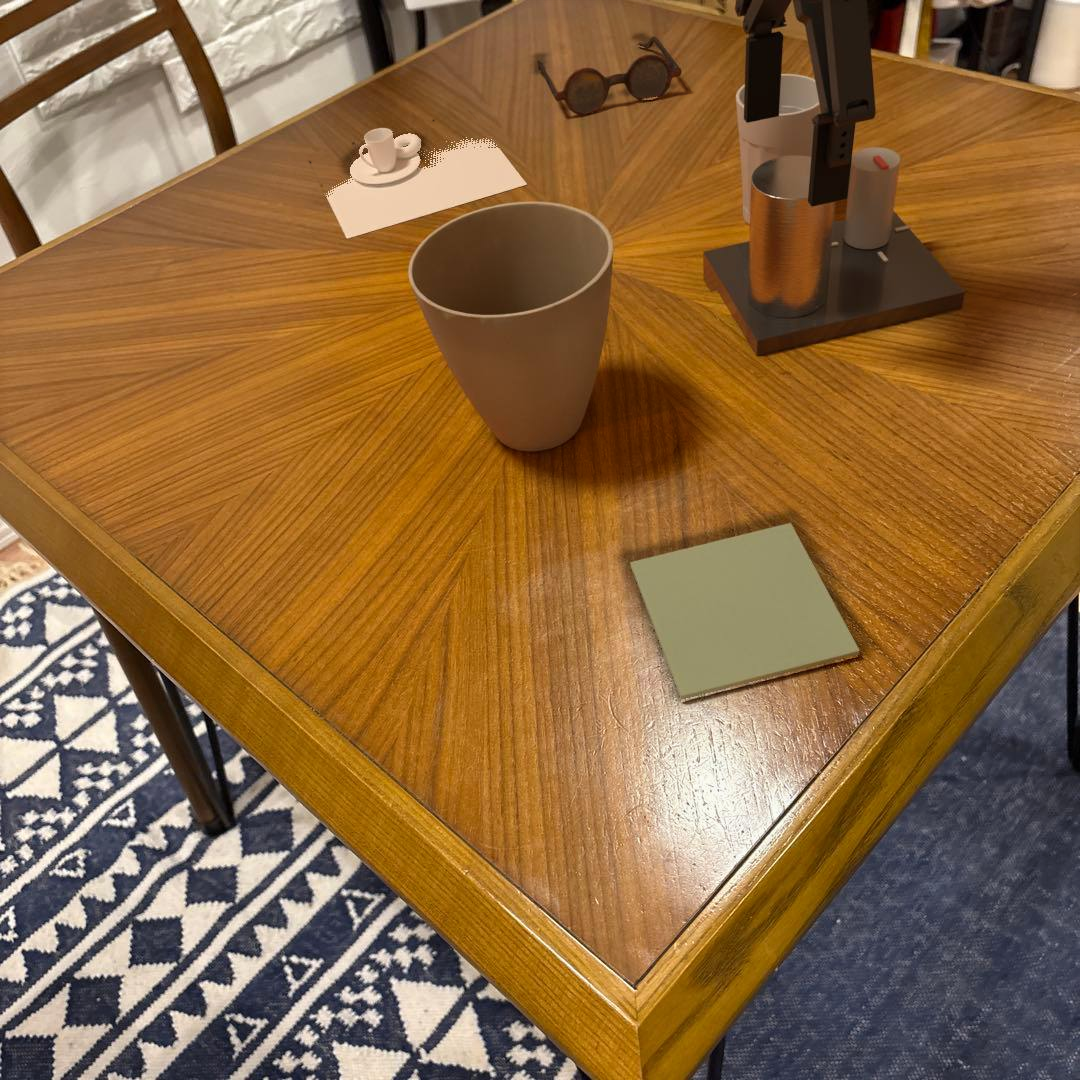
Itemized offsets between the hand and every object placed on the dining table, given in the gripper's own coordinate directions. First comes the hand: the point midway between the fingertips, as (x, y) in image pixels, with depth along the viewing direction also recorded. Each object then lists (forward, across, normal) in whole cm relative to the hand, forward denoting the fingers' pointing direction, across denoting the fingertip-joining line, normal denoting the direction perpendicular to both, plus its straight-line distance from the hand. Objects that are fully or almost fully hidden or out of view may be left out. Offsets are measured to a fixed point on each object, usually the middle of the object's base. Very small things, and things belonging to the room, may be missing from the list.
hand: (792, 157), depth 85 cm
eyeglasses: (+16, -52, -2) cm, 54 cm away
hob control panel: (+16, -2, +5) cm, 16 cm away
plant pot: (+16, +5, -23) cm, 29 cm away
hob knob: (+13, -5, +10) cm, 17 cm away
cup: (+16, -17, +6) cm, 24 cm away
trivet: (+16, +29, -14) cm, 36 cm away
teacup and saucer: (+16, -41, -27) cm, 52 cm away
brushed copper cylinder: (+13, 0, 0) cm, 13 cm away
